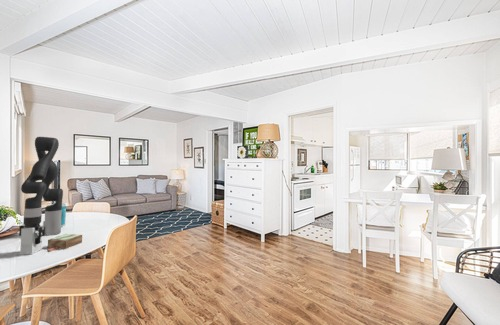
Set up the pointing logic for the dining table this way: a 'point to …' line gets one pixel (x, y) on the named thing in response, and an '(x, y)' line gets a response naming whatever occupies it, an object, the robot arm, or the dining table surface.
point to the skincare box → (29, 241)
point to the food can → (62, 214)
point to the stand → (65, 241)
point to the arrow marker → (52, 249)
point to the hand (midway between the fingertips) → (31, 243)
